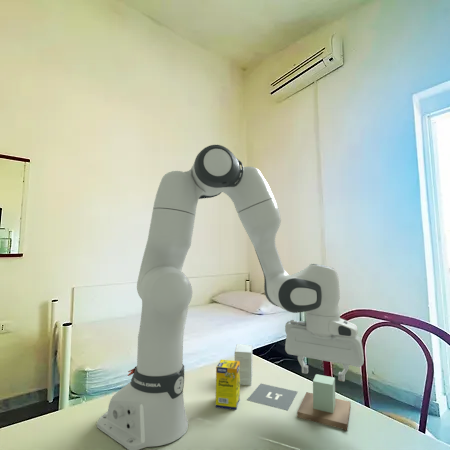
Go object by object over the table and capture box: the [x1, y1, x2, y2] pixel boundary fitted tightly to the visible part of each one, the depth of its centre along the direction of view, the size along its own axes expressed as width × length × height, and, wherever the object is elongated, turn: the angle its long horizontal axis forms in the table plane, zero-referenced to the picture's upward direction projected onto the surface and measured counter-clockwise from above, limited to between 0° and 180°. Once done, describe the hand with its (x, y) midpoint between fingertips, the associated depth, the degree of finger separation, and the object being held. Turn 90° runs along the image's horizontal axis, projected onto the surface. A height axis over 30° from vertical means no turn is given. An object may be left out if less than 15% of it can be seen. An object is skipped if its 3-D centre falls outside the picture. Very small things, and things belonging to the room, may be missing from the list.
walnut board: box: [296, 392, 352, 431], centre depth 79 cm, size 12×12×2 cm
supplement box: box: [215, 359, 241, 411], centre depth 84 cm, size 6×6×11 cm
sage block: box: [312, 373, 336, 413], centre depth 80 cm, size 5×5×7 cm
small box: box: [234, 343, 253, 386], centre depth 99 cm, size 8×6×10 cm
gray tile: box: [246, 383, 299, 411], centre depth 88 cm, size 12×12×1 cm
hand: (322, 376), depth 80 cm, fingers open, 8 cm apart
